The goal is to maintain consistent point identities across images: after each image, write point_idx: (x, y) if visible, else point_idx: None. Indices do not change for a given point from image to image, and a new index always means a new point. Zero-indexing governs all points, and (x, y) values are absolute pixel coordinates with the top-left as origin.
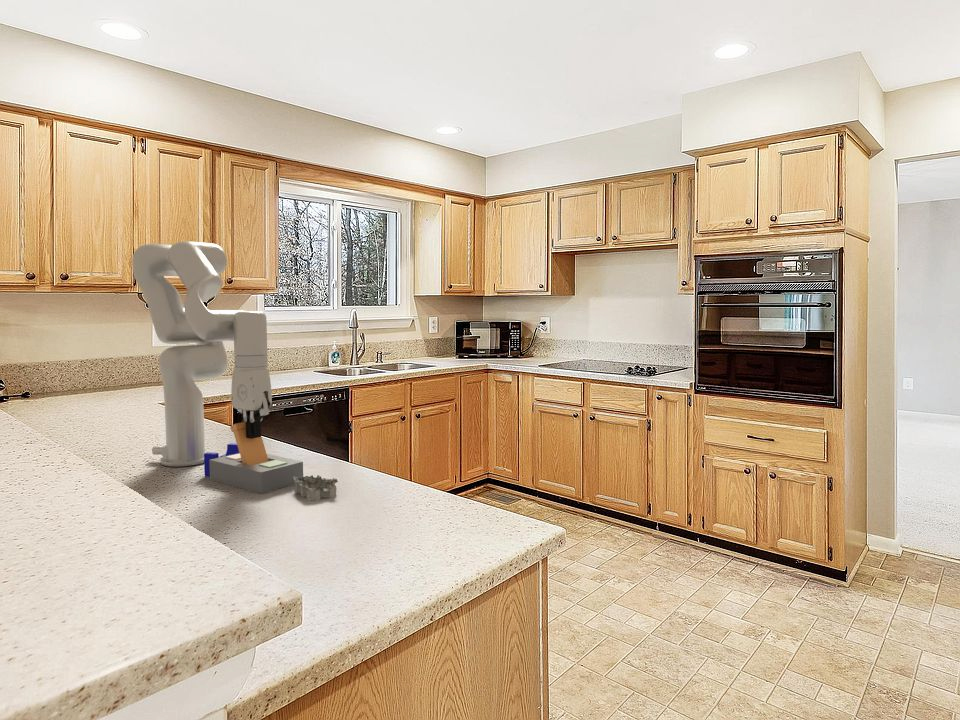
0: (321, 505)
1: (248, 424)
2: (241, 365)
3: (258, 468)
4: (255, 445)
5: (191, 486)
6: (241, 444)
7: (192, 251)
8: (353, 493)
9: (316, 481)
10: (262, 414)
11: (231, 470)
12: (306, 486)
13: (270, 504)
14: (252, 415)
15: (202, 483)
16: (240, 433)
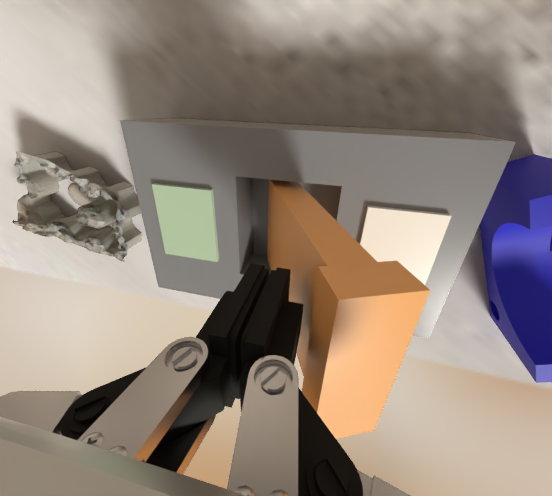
0: (6, 137)
1: (231, 324)
2: None
3: (176, 156)
4: None
5: (479, 5)
6: (296, 220)
7: None
8: (53, 237)
9: (77, 218)
10: (32, 401)
11: (314, 129)
12: (41, 166)
13: (68, 58)
14: (134, 393)
15: (461, 75)
16: (316, 268)
